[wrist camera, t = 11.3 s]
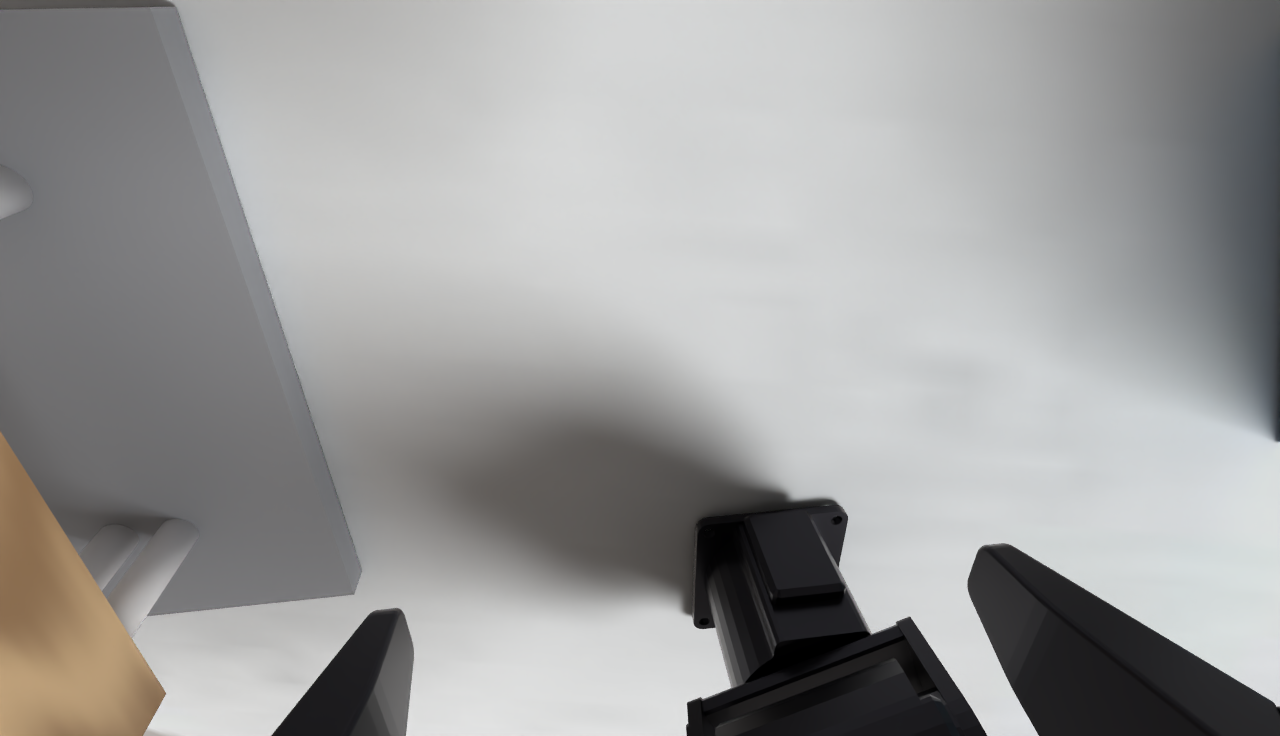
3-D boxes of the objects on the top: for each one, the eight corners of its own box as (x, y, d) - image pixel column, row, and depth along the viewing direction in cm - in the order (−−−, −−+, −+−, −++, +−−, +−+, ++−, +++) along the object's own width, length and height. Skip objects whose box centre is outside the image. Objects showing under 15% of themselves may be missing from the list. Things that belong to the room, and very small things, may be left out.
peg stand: (361, 570, 26) (313, 718, 21) (42, 603, 25) (-97, 768, 19) (175, 6, 16) (-12, 8, 11) (-375, 15, 15) (-896, 24, 9)
